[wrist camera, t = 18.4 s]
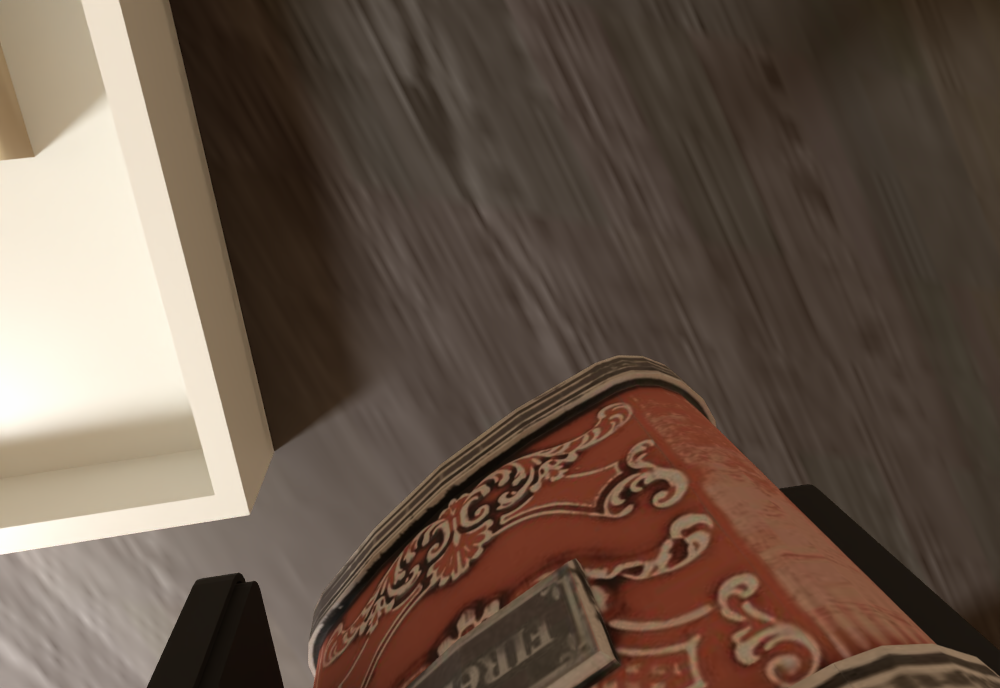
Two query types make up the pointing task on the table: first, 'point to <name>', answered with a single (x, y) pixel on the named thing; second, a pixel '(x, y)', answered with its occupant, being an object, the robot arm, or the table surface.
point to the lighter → (613, 565)
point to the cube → (11, 119)
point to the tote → (115, 290)
